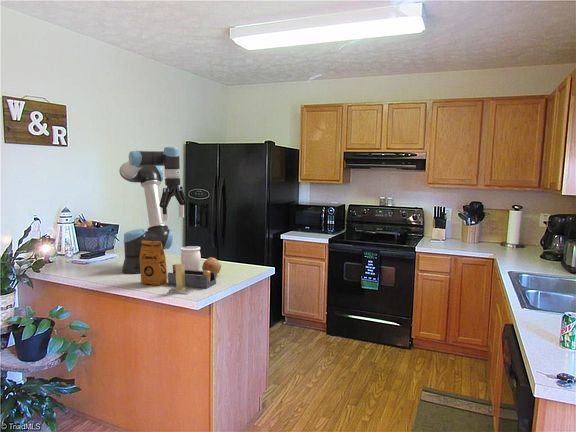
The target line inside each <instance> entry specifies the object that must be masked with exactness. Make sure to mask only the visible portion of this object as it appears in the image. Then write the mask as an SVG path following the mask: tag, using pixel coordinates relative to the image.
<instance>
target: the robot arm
mask: <svg viewBox="0 0 576 432" xmlns="http://www.w3.org/2000/svg"><path fill="white" fill-rule="evenodd" d="M180 155H181V153H180V149H179V147H177V146H167V147H166V146H165V147H164V148H163V150H162V151H160V150H155V151H153V150H152V151H150V150H131V151H129V153H128V160H127V161H126V162H124V163H122V164H121V165H120V167H119V175H120V177H121V178H122V179H123V180H125V181H127V182H129V183H138V184H139V183H140V187H141V188H143V190H144V197H145V204H146V210H147V216H148V223H149V226H148V227H147V229H145V228H138V229H137V228H136V229H132V230H128V231H126V232H124V234H123V247H124V248H123V249H124V259H123V260H124V261H123V264H122V267H121V269H122V270H121V272H122V273H123V274H128V275H133V274H134V275H135V274H136V275H137V274H141V272H140V259H139V256H140V252H141V247H142V244H141V242H142V241H161V243H162V246H163V250H168V249H171V247H172V245H173V237H174V235H173V230H172V229H171V228H169V226H168V224H166V223H165V221H166V222H167V221H168V222H169V220H170V219H169V218H170V217H169V207H168V205H169V203H170V202H171V199H172V198H173V197H175V200H176V201H177V203H178V218H185V205H187V199H186V195H185V193H184V190H183V186H180V185H181V177H180V176H181V173H180V172H181V168H180V167H181V166H180V158H181V157H180ZM162 167H164V171H163V169H162ZM163 172H164V173H163ZM164 177H165V178H164ZM163 180H164V184H165V186H166V187H162V194H161V192H160V191H161V190H160V185H161V184H162V182H163Z"/></svg>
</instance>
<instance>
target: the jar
mask: <svg viewBox="0 0 576 432" xmlns="http://www.w3.org/2000/svg"><path fill="white" fill-rule="evenodd" d="M200 250H201V246H197V245H194V246H193V245H190V246H189V245H188V246H182V247H181V248H180V251H181V253H180V262H181V263H180V264H184V268H185V270H197V271H200V267H201V261H202V259H201V258H202V256H201V251H200Z"/></svg>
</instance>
